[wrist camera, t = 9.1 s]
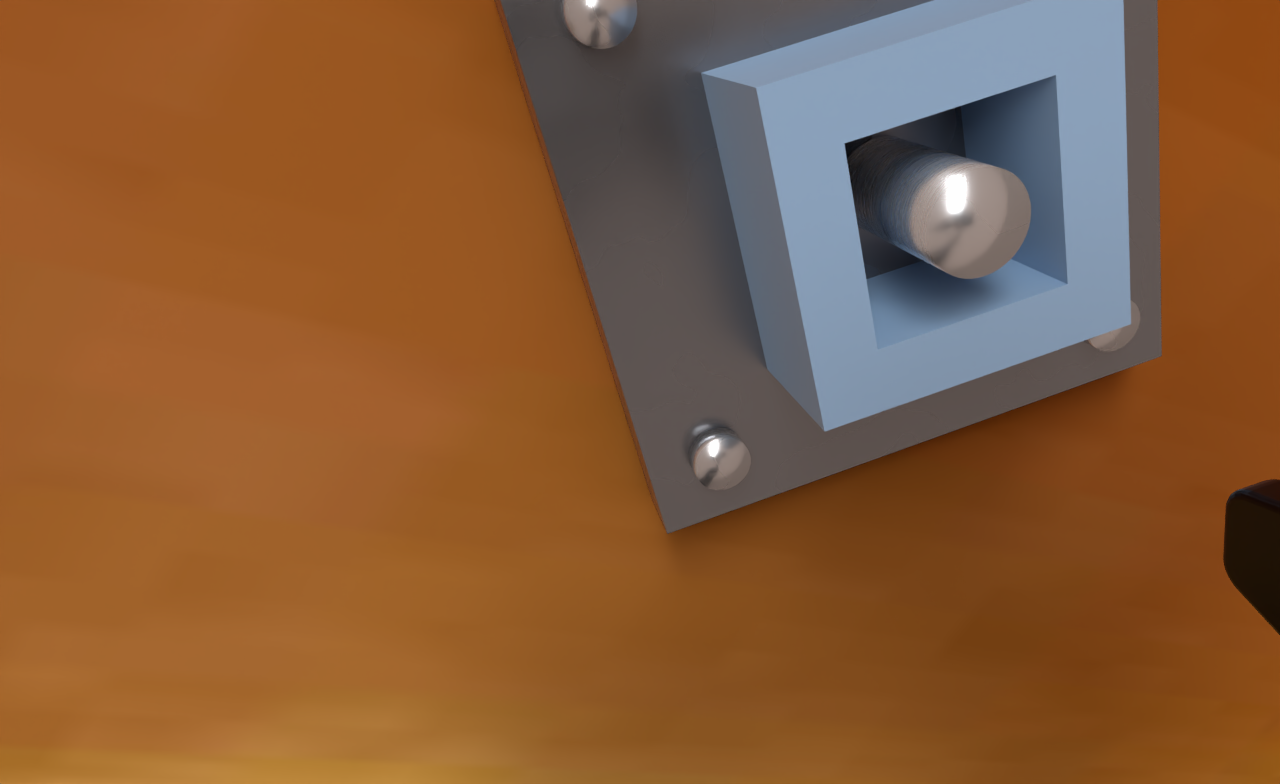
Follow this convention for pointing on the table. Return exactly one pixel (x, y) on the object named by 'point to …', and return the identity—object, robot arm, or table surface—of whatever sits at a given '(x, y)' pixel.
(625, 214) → the keeper plate
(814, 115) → the blue square ring
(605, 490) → the table surface
